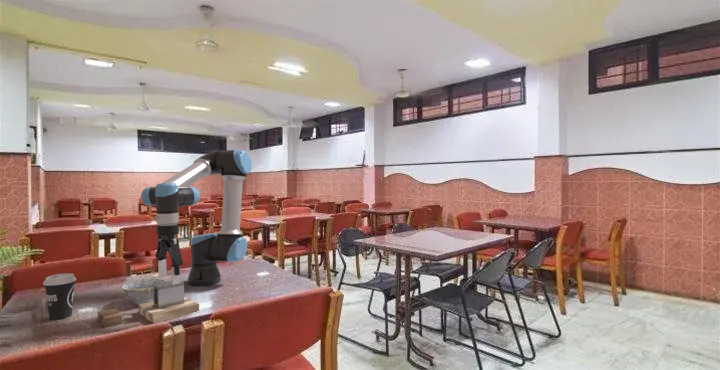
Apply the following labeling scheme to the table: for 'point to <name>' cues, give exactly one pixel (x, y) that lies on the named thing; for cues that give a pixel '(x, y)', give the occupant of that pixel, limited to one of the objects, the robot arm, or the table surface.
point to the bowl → (141, 290)
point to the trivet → (167, 310)
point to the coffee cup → (60, 295)
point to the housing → (168, 294)
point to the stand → (109, 318)
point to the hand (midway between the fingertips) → (169, 280)
